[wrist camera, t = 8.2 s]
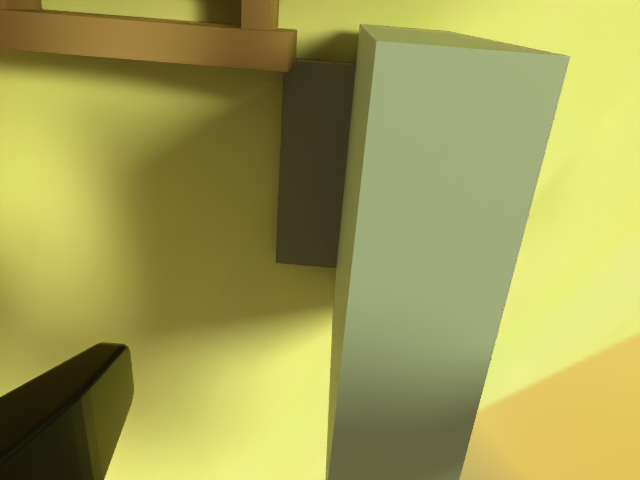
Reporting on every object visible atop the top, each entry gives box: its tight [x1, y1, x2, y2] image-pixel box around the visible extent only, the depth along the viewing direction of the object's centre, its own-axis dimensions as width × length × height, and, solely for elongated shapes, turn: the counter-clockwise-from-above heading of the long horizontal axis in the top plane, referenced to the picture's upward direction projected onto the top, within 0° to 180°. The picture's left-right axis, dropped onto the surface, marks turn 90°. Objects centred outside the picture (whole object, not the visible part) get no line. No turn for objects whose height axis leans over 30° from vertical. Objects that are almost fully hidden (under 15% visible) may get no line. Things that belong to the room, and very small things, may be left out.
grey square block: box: [326, 24, 570, 480], centre depth 13 cm, size 3×9×9 cm, turn 176°
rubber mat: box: [276, 59, 356, 268], centre depth 17 cm, size 7×7×1 cm
